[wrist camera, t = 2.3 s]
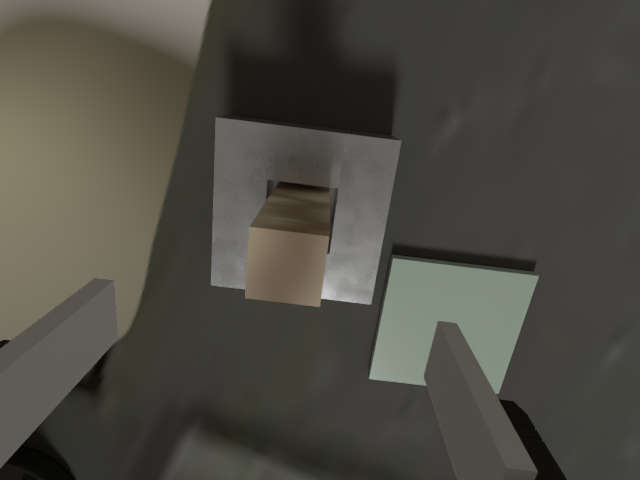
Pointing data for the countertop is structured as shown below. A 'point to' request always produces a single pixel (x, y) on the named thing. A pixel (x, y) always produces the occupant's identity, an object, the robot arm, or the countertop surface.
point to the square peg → (289, 245)
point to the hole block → (310, 169)
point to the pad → (448, 315)
